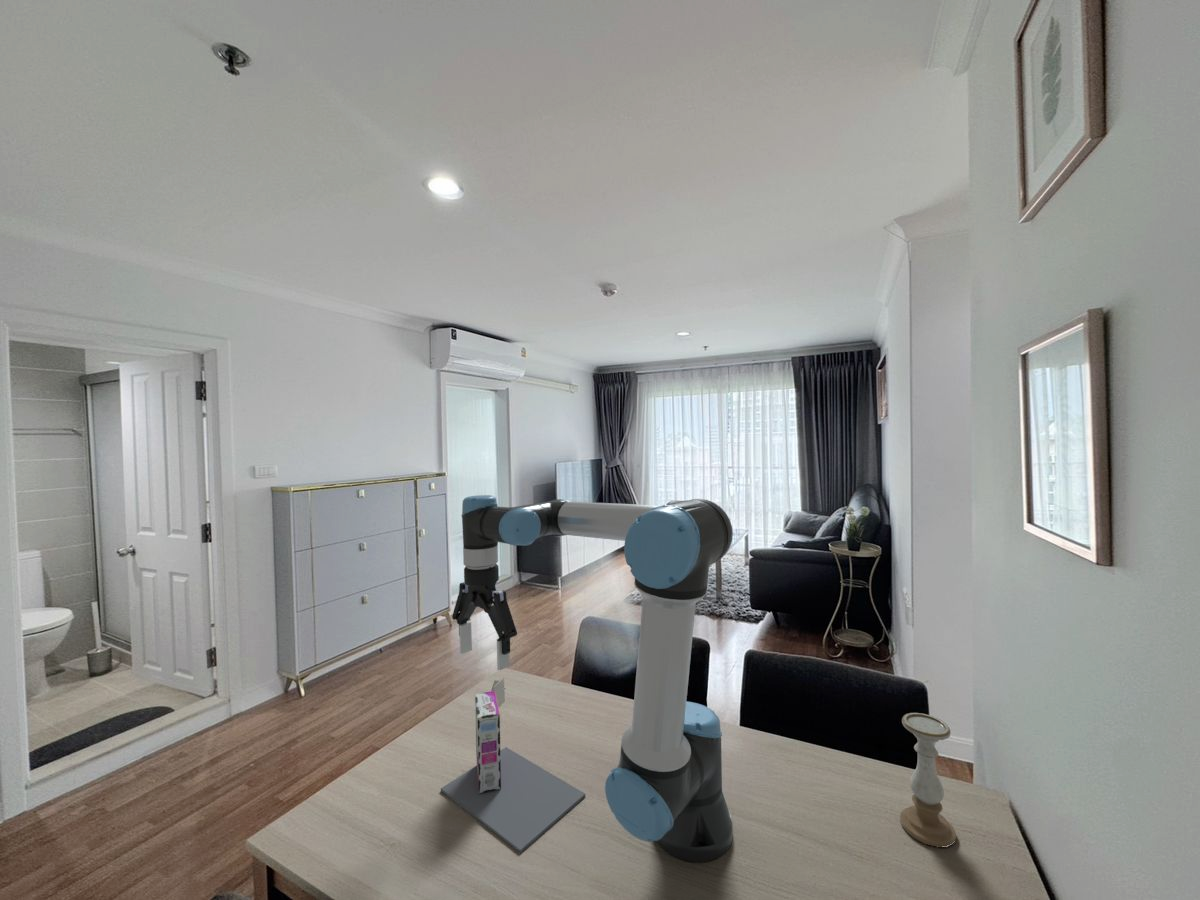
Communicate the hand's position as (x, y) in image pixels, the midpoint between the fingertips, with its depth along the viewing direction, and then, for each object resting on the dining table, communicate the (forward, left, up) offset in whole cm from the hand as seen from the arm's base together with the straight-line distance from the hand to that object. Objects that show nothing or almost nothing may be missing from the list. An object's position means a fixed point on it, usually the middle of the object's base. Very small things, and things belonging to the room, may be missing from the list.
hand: (484, 659), depth 109 cm
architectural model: (+22, -20, -28) cm, 41 cm away
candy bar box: (0, 0, -26) cm, 26 cm away
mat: (-8, 0, -27) cm, 28 cm away
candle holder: (-78, -42, -27) cm, 93 cm away
